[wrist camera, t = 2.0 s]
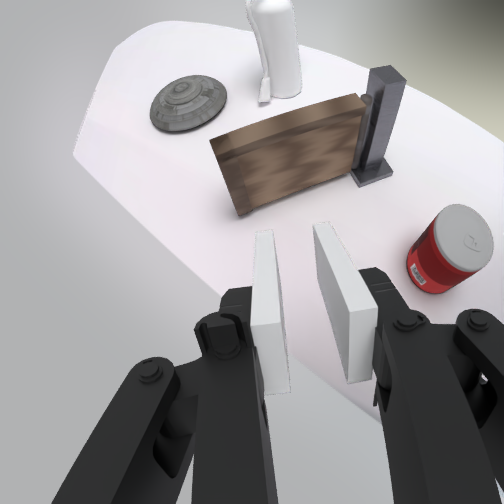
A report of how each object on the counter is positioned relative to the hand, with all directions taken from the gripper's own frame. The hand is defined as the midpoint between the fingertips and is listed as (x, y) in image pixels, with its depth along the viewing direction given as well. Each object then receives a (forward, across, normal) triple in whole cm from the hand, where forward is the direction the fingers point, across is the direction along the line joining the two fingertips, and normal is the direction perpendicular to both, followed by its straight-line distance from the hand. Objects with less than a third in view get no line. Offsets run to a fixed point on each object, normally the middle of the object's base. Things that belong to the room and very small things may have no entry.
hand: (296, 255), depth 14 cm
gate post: (+34, +14, -3) cm, 37 cm away
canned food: (+22, +20, -15) cm, 33 cm away
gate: (+31, +3, -4) cm, 31 cm away
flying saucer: (+48, -14, +11) cm, 51 cm away
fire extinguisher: (+48, +4, +11) cm, 49 cm away
